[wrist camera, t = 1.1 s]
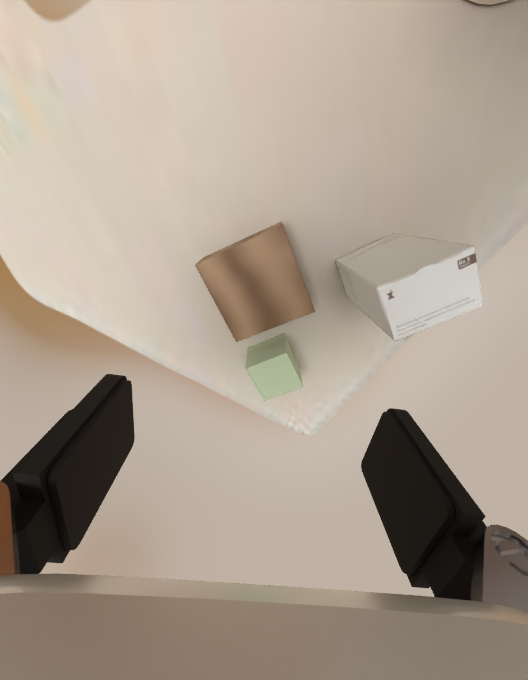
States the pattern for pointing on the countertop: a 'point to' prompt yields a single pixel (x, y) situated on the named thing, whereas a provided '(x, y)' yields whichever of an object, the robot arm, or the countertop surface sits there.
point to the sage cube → (273, 367)
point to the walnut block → (256, 283)
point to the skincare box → (411, 282)
